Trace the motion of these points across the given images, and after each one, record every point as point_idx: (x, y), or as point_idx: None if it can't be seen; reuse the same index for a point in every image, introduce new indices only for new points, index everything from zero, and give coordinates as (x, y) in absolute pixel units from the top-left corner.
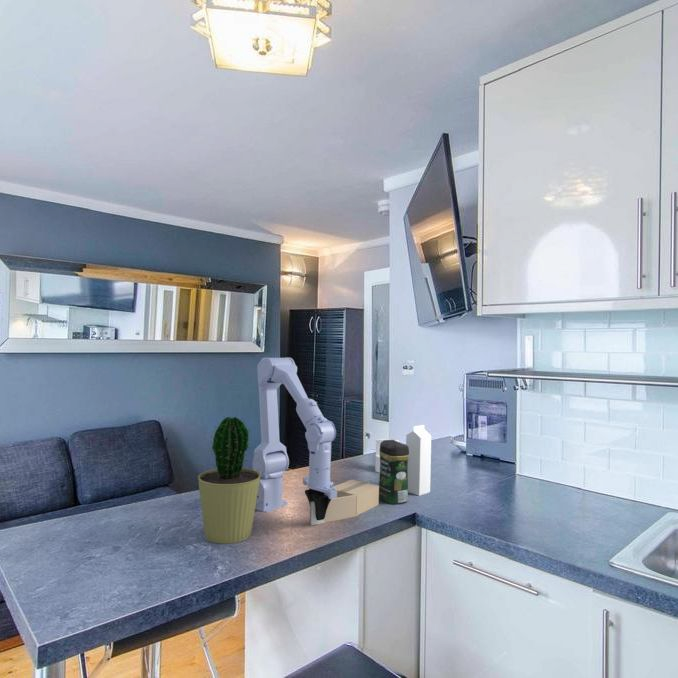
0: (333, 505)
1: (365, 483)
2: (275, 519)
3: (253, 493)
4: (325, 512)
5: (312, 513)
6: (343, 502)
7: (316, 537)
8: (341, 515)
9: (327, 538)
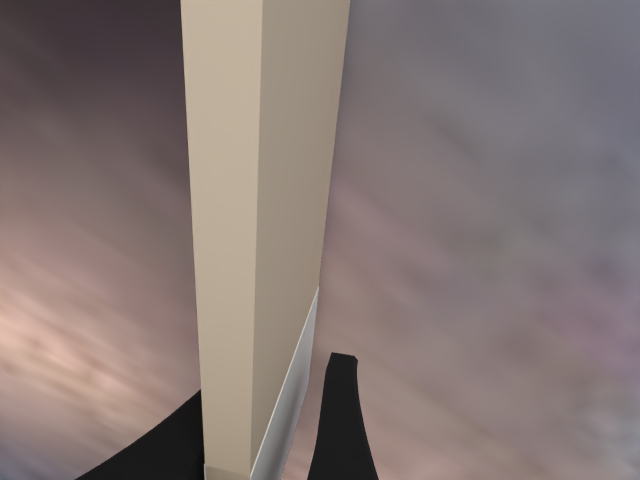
0: (286, 292)
1: None
2: (101, 441)
3: None
4: (358, 408)
5: (283, 462)
6: (292, 109)
7: (500, 463)
8: (332, 106)
9: (578, 433)
